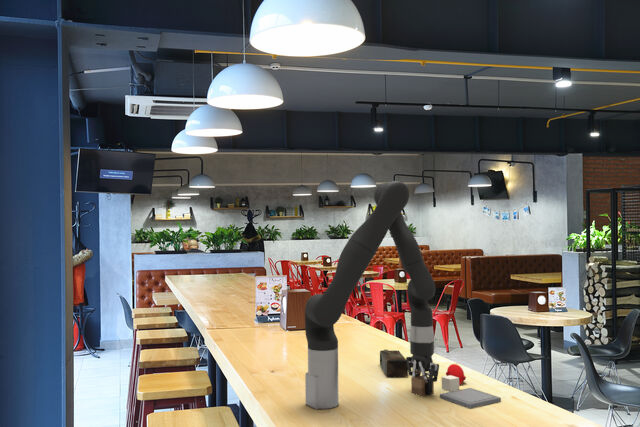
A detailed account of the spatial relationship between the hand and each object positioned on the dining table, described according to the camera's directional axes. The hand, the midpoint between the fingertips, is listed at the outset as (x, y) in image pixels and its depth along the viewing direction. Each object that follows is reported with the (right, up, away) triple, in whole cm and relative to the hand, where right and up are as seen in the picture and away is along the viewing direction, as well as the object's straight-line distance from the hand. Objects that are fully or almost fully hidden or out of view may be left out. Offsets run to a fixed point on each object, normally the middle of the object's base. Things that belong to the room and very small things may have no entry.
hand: (422, 392), depth 194 cm
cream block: (+10, -1, +5) cm, 11 cm away
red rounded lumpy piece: (+13, -1, +13) cm, 18 cm away
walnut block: (0, 0, 0) cm, 0 cm away
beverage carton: (-6, -1, +30) cm, 30 cm away
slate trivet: (+13, 0, -7) cm, 15 cm away
